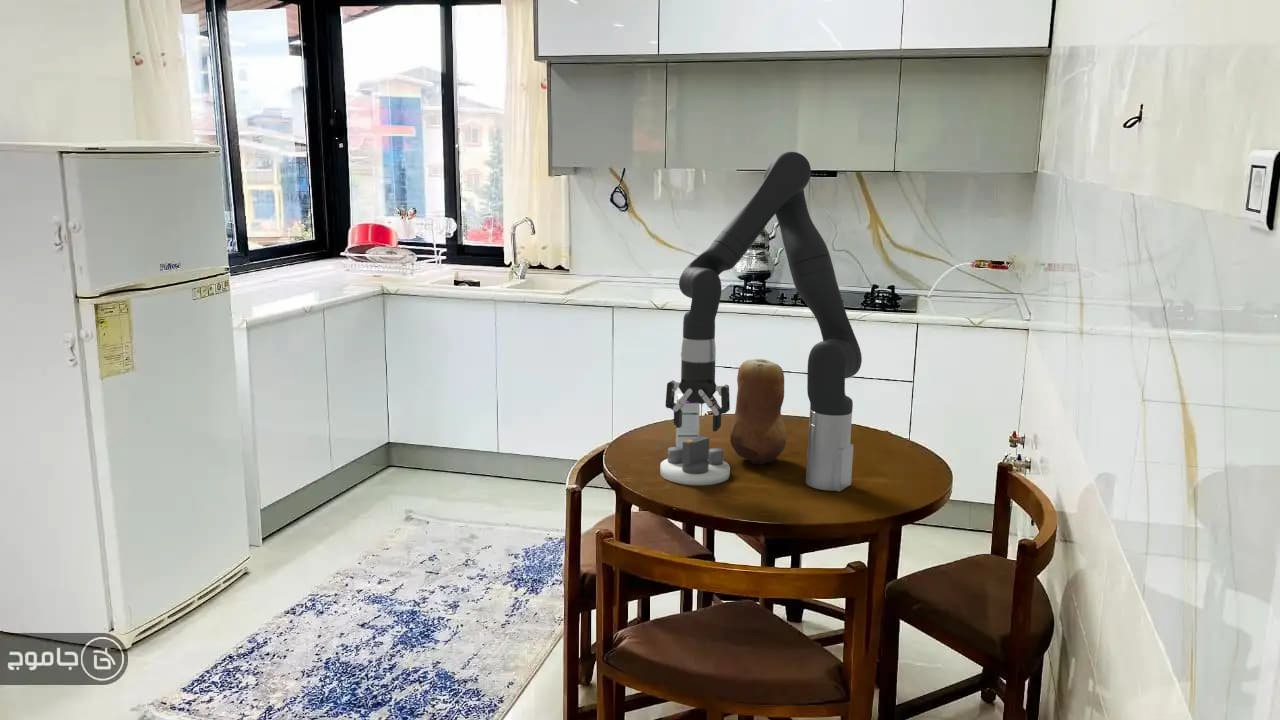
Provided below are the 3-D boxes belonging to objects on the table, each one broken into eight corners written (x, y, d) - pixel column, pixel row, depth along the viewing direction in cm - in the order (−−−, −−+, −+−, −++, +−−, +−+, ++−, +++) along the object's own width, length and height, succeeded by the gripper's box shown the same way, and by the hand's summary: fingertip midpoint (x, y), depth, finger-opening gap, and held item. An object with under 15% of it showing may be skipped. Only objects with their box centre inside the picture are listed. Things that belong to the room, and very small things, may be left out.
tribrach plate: (742, 472, 221) (743, 452, 220) (705, 490, 208) (705, 468, 207) (685, 459, 230) (686, 439, 229) (646, 475, 217) (646, 454, 216)
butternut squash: (791, 457, 233) (797, 358, 228) (776, 473, 221) (781, 368, 216) (738, 450, 239) (742, 352, 234) (720, 464, 227) (723, 362, 222)
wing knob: (694, 463, 220) (695, 433, 218) (715, 469, 216) (716, 438, 214) (675, 470, 215) (676, 439, 213) (695, 476, 211) (696, 444, 209)
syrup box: (699, 456, 233) (701, 398, 230) (675, 455, 233) (676, 398, 230) (698, 449, 238) (700, 393, 236) (674, 448, 239) (676, 392, 236)
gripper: (734, 357, 210) (732, 428, 213) (673, 352, 215) (672, 422, 218) (725, 363, 203) (723, 436, 206) (662, 358, 208) (661, 429, 211)
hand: (696, 428), depth 212 cm, fingers open, 8 cm apart
